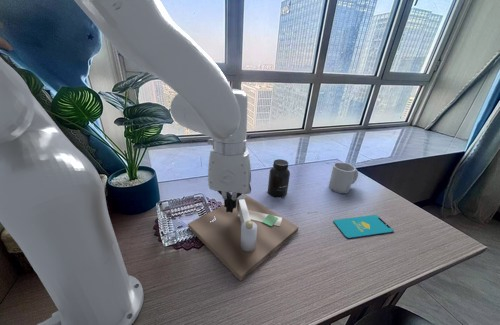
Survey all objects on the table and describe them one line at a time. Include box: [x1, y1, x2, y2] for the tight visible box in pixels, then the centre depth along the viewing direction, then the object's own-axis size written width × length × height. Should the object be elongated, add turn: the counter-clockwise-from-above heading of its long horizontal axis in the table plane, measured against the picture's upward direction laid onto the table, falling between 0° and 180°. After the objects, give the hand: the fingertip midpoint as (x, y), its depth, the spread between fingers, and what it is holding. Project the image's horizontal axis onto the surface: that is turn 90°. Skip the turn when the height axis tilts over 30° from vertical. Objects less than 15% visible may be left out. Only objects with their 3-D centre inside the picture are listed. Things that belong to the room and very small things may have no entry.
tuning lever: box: [237, 194, 257, 252], centre depth 53 cm, size 14×4×7 cm, turn 11°
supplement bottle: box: [267, 159, 291, 199], centre depth 71 cm, size 7×7×12 cm
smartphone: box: [332, 214, 395, 240], centre depth 60 cm, size 7×1×15 cm
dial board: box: [187, 194, 299, 282], centre depth 57 cm, size 21×21×2 cm
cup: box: [328, 161, 359, 194], centre depth 77 cm, size 7×10×9 cm
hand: (230, 208), depth 57 cm, fingers closed
